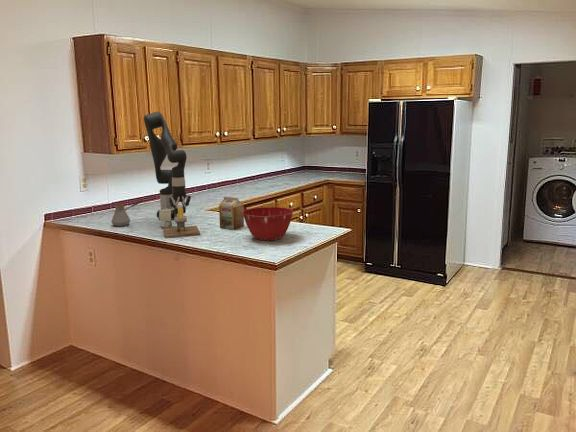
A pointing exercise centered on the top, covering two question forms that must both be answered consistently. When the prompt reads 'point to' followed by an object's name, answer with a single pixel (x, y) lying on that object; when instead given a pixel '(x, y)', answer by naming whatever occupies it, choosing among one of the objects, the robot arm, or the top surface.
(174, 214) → the pneumatic valve
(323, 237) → the top surface
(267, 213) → the mixing bowl
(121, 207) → the coffee pot
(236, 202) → the milk carton
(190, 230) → the board
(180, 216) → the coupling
